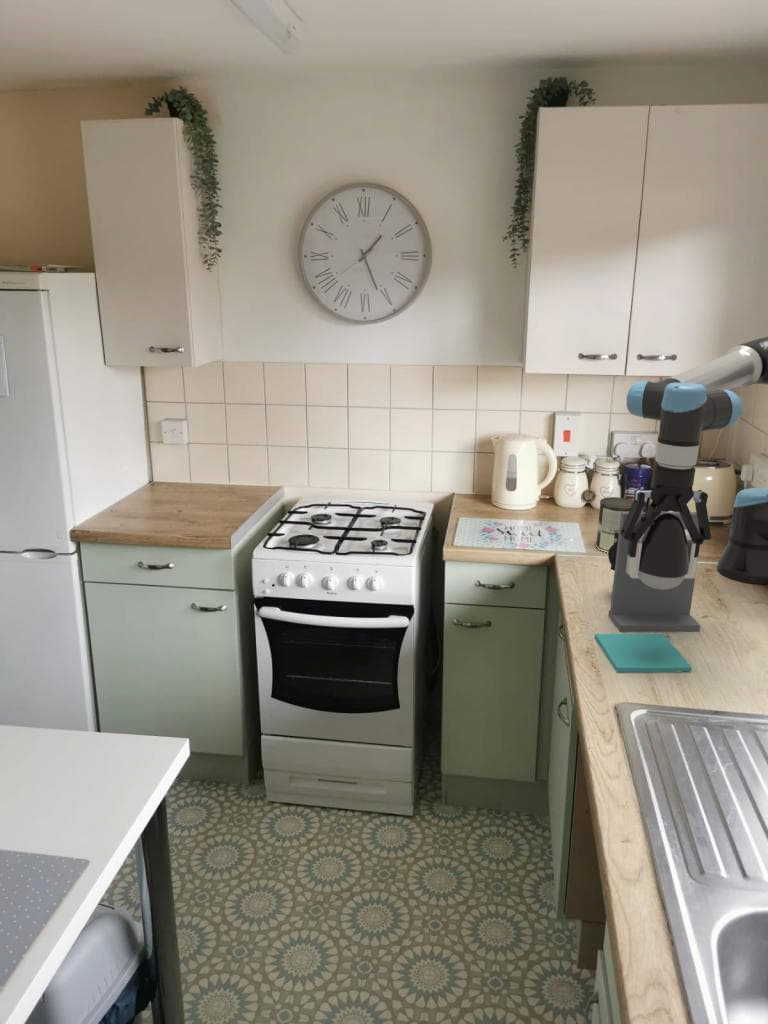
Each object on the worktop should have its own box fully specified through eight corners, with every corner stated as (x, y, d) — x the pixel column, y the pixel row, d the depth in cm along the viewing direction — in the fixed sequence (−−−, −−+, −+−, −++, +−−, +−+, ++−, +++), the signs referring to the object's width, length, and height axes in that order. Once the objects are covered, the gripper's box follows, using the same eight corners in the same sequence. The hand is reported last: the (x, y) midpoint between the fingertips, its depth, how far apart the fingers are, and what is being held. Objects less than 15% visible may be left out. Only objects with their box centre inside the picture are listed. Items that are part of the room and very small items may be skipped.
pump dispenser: (625, 574, 159) (633, 504, 155) (675, 576, 159) (685, 506, 155) (639, 593, 150) (649, 520, 145) (693, 595, 149) (704, 521, 145)
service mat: (662, 637, 166) (663, 633, 166) (691, 672, 152) (691, 667, 152) (594, 637, 166) (595, 633, 166) (616, 672, 152) (617, 667, 151)
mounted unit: (684, 616, 177) (700, 511, 170) (699, 631, 170) (716, 522, 162) (608, 616, 177) (620, 511, 169) (619, 631, 169) (632, 522, 161)
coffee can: (588, 544, 224) (593, 498, 219) (618, 541, 227) (623, 495, 223) (608, 556, 214) (614, 508, 210) (639, 553, 218) (645, 505, 213)
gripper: (723, 460, 151) (707, 565, 158) (610, 459, 150) (599, 564, 157) (742, 469, 144) (724, 579, 151) (623, 468, 143) (610, 578, 150)
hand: (660, 571), depth 154 cm, fingers closed on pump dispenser, 10 cm apart
